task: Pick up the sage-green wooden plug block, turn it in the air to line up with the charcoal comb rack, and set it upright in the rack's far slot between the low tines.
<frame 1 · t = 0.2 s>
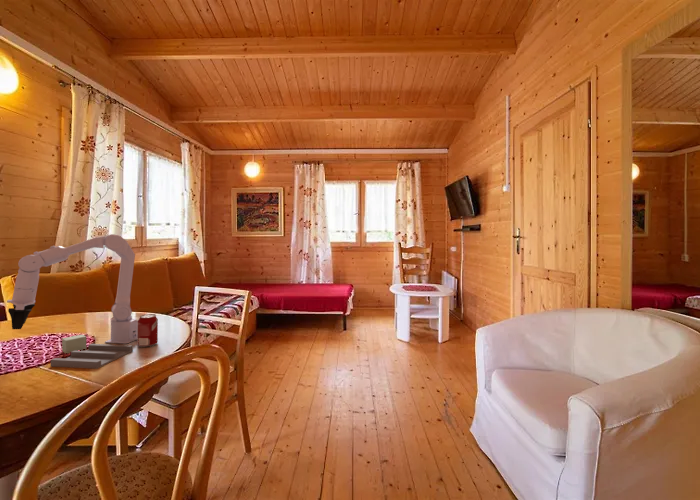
hand: (18, 326, 112), 11 cm above the table, tool pointing down, fingers open, 7 cm apart
plug block: (74, 350, 119), on the table
soda can: (147, 345, 127), on the table
comb rack: (94, 358, 112), on the table
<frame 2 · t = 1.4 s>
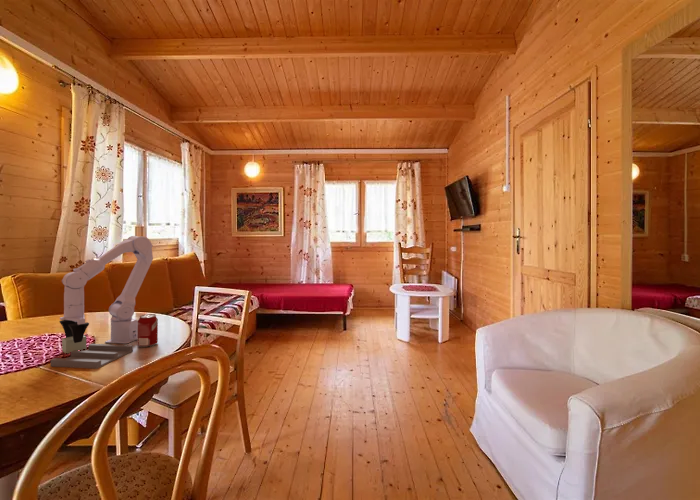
hand: (74, 340, 119), 4 cm above the table, tool pointing down, fingers open, 7 cm apart
nothing on the table moved.
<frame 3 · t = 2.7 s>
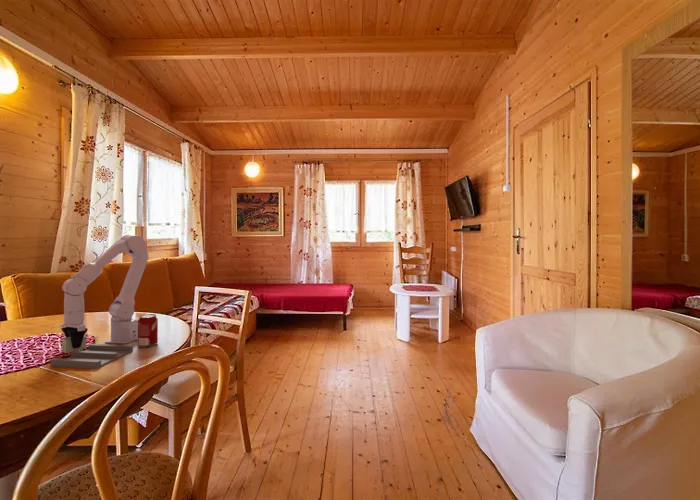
hand: (74, 346, 119), 1 cm above the table, tool pointing down, fingers closed on plug block, 4 cm apart
plug block: (74, 350, 119), on the table, touching gripper
everything else where it was.
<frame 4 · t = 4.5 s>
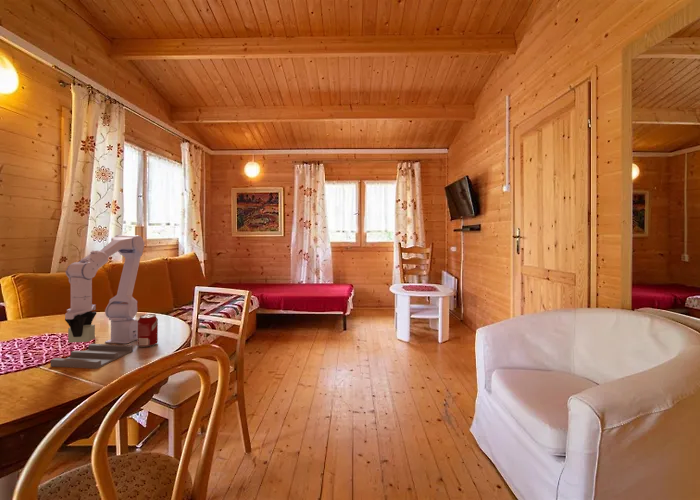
hand: (81, 334, 112), 8 cm above the table, tool pointing down, fingers closed on plug block, 4 cm apart
plug block: (81, 340, 112), point 6 cm above the table, touching gripper
everything else where it was.
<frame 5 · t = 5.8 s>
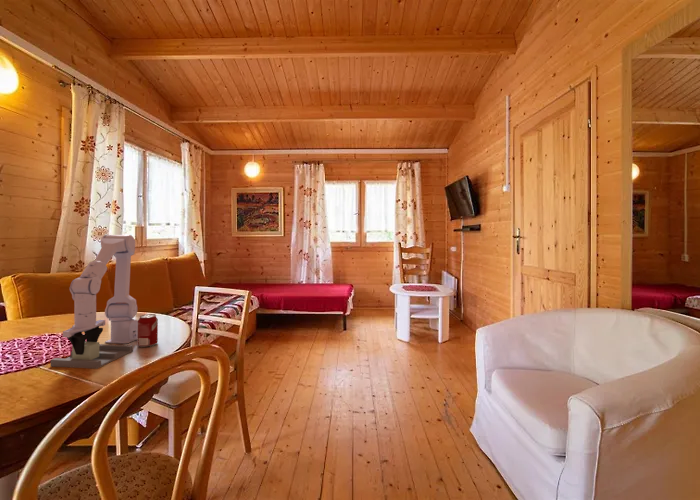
hand: (85, 351, 109), 4 cm above the table, tool pointing down, fingers closed on plug block, 4 cm apart
plug block: (86, 358, 109), point 1 cm above the table, touching gripper
everything else where it was.
when the fingers open (4 cm above the table, at t = 6.6 s): plug block stays where it is, resting on comb rack.
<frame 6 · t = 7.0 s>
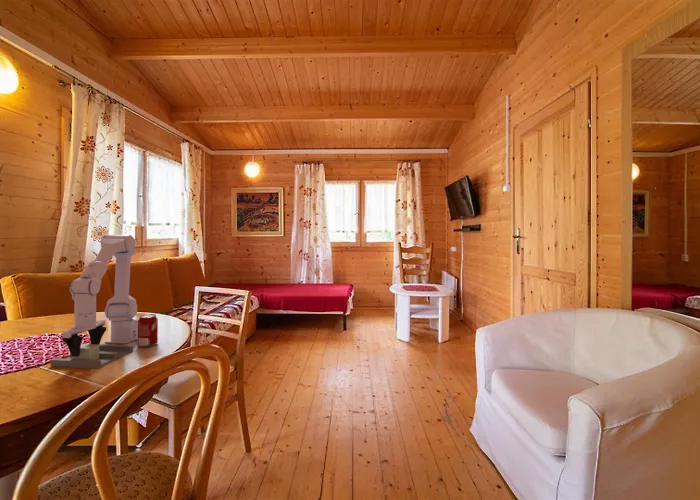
hand: (85, 352, 109), 4 cm above the table, tool pointing down, fingers open, 7 cm apart
plug block: (86, 360, 109), point 1 cm above the table, touching comb rack
everything else where it was.
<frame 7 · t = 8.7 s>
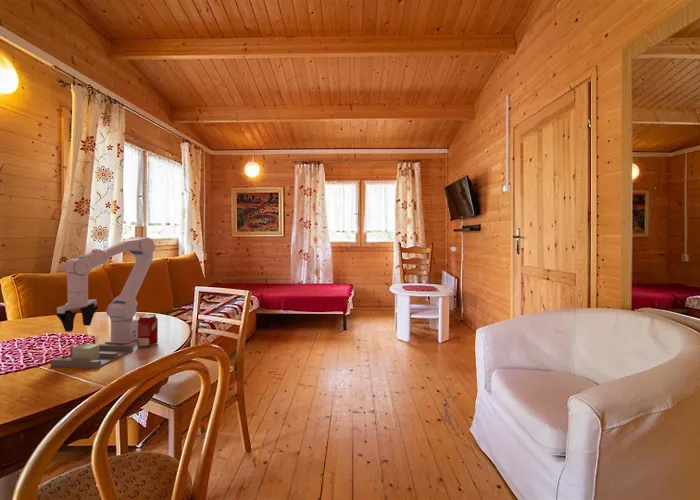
hand: (78, 328, 116), 9 cm above the table, tool pointing down, fingers open, 7 cm apart
nothing on the table moved.
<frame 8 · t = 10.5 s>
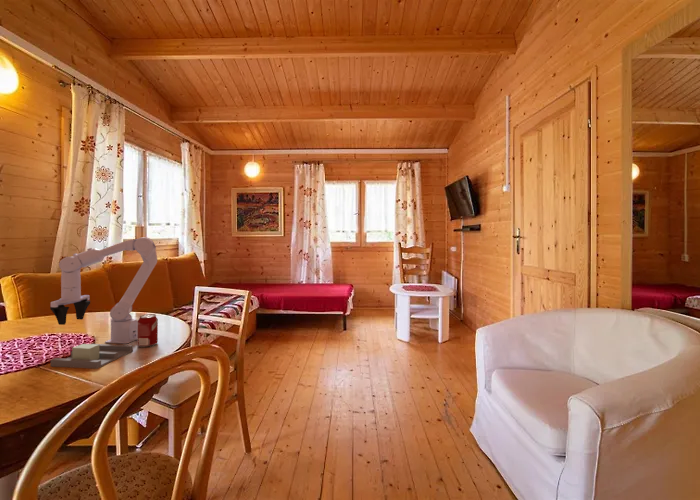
hand: (71, 321, 124), 9 cm above the table, tool pointing down, fingers open, 7 cm apart
nothing on the table moved.
at the end: plug block 0.2 cm from the target spot on the comb rack, point 0.6 cm above the comb rack's base; plug block tilted 0°; the gripper is holding nothing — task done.
